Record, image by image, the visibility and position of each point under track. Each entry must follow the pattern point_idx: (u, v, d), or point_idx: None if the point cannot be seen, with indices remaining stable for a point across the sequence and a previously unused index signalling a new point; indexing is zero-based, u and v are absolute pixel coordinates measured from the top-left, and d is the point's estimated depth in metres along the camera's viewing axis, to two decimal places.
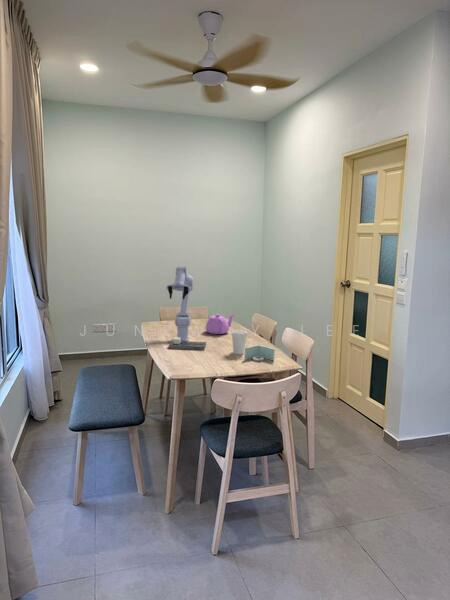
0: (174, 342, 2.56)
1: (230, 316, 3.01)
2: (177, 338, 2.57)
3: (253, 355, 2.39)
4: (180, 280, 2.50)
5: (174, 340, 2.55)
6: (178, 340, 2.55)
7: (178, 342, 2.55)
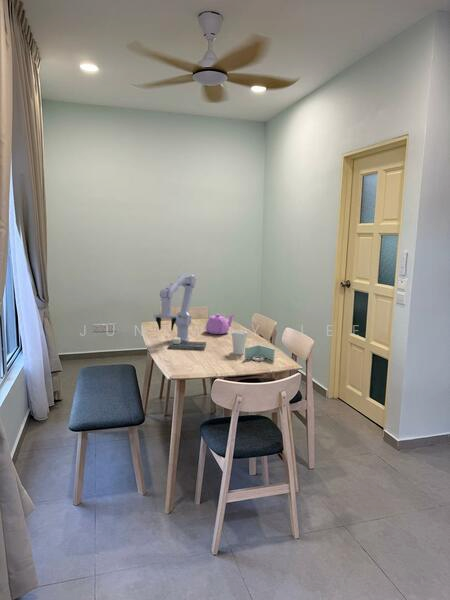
0: (174, 342, 2.56)
1: (230, 316, 3.01)
2: (177, 338, 2.57)
3: (253, 355, 2.39)
4: (167, 311, 2.53)
5: (174, 340, 2.55)
6: (178, 340, 2.55)
7: (178, 342, 2.55)
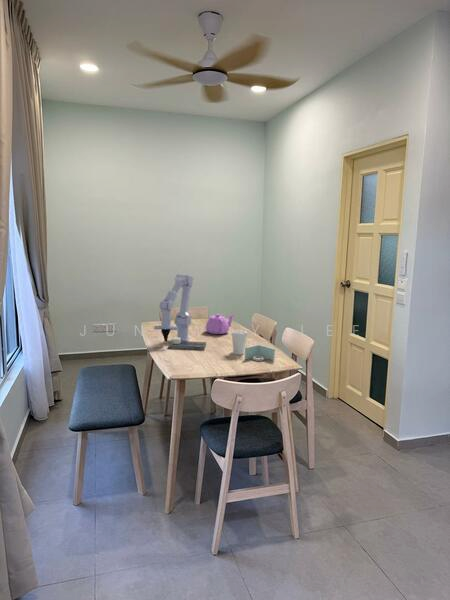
0: (174, 342, 2.56)
1: (230, 316, 3.01)
2: (177, 338, 2.57)
3: (253, 355, 2.39)
4: (166, 323, 2.54)
5: (174, 340, 2.55)
6: (178, 340, 2.55)
7: (178, 342, 2.55)
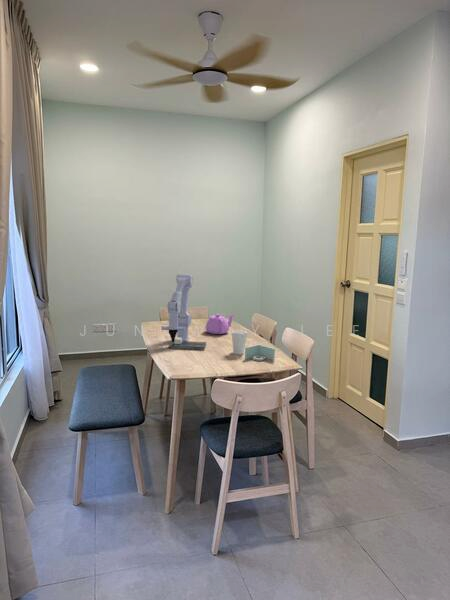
0: (175, 342, 2.55)
1: (230, 316, 3.01)
2: (178, 338, 2.57)
3: (253, 355, 2.40)
4: (174, 323, 2.54)
5: (175, 340, 2.55)
6: (179, 340, 2.55)
7: (179, 342, 2.55)
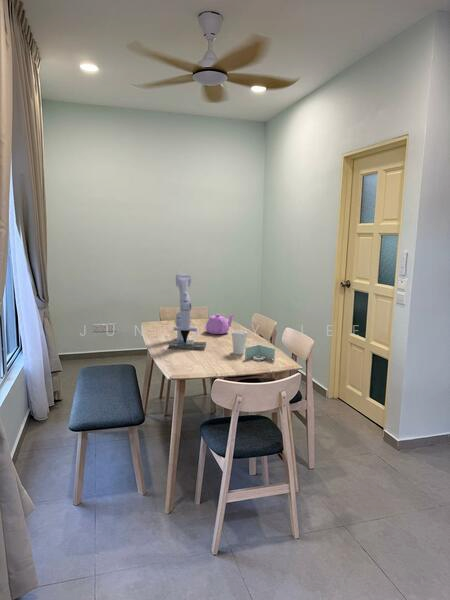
0: (187, 343, 2.55)
1: (230, 316, 3.01)
2: (190, 339, 2.57)
3: (254, 354, 2.40)
4: (186, 324, 2.53)
5: (187, 341, 2.55)
6: (191, 341, 2.55)
7: (191, 343, 2.55)
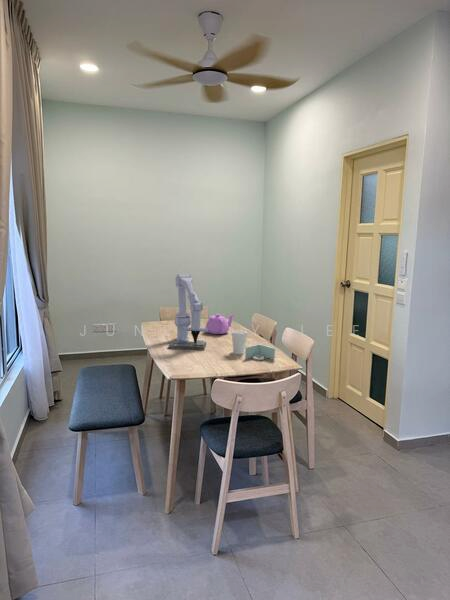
0: (198, 343, 2.55)
1: (230, 316, 3.01)
2: (201, 339, 2.57)
3: (254, 354, 2.40)
4: (196, 324, 2.53)
5: (198, 341, 2.55)
6: (202, 341, 2.55)
7: (202, 343, 2.55)
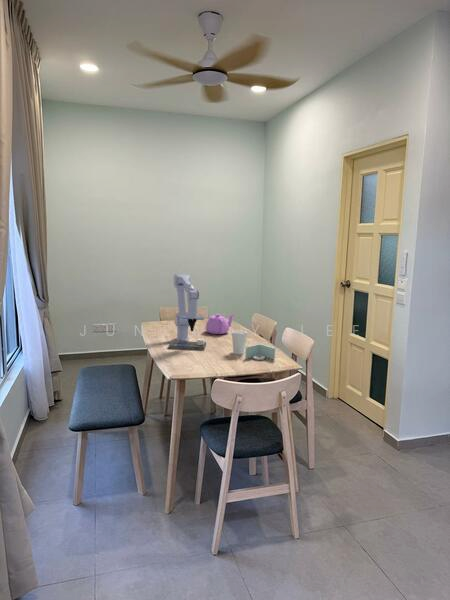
0: (198, 343, 2.55)
1: (230, 316, 3.01)
2: (201, 339, 2.57)
3: (254, 354, 2.41)
4: (193, 312, 2.52)
5: (198, 341, 2.55)
6: (202, 341, 2.55)
7: (202, 343, 2.55)
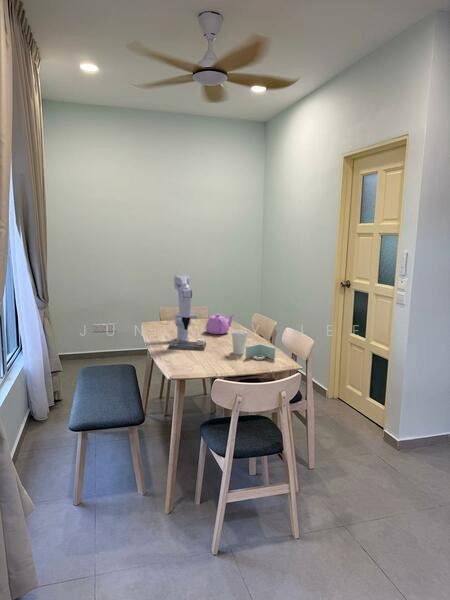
0: (198, 343, 2.55)
1: (230, 316, 3.01)
2: (201, 339, 2.57)
3: (254, 354, 2.41)
4: (187, 311, 2.56)
5: (198, 341, 2.55)
6: (202, 341, 2.55)
7: (202, 343, 2.55)
